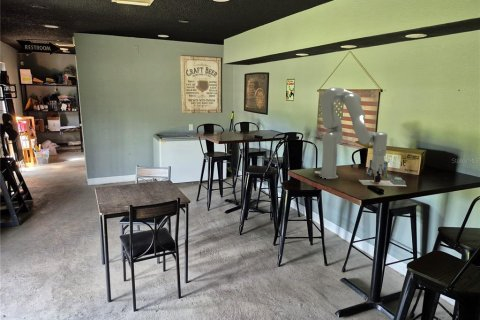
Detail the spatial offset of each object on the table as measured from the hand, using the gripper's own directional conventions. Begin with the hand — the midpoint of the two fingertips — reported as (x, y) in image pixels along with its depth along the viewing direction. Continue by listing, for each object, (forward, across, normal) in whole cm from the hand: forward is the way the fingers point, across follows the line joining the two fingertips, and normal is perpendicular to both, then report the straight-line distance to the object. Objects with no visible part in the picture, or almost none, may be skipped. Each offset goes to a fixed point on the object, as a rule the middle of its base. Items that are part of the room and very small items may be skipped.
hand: (376, 181), depth 206 cm
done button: (0, -2, +13) cm, 14 cm away
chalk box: (+3, -21, +7) cm, 22 cm away
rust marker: (+1, 0, 0) cm, 1 cm away
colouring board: (+2, -2, +4) cm, 5 cm away
